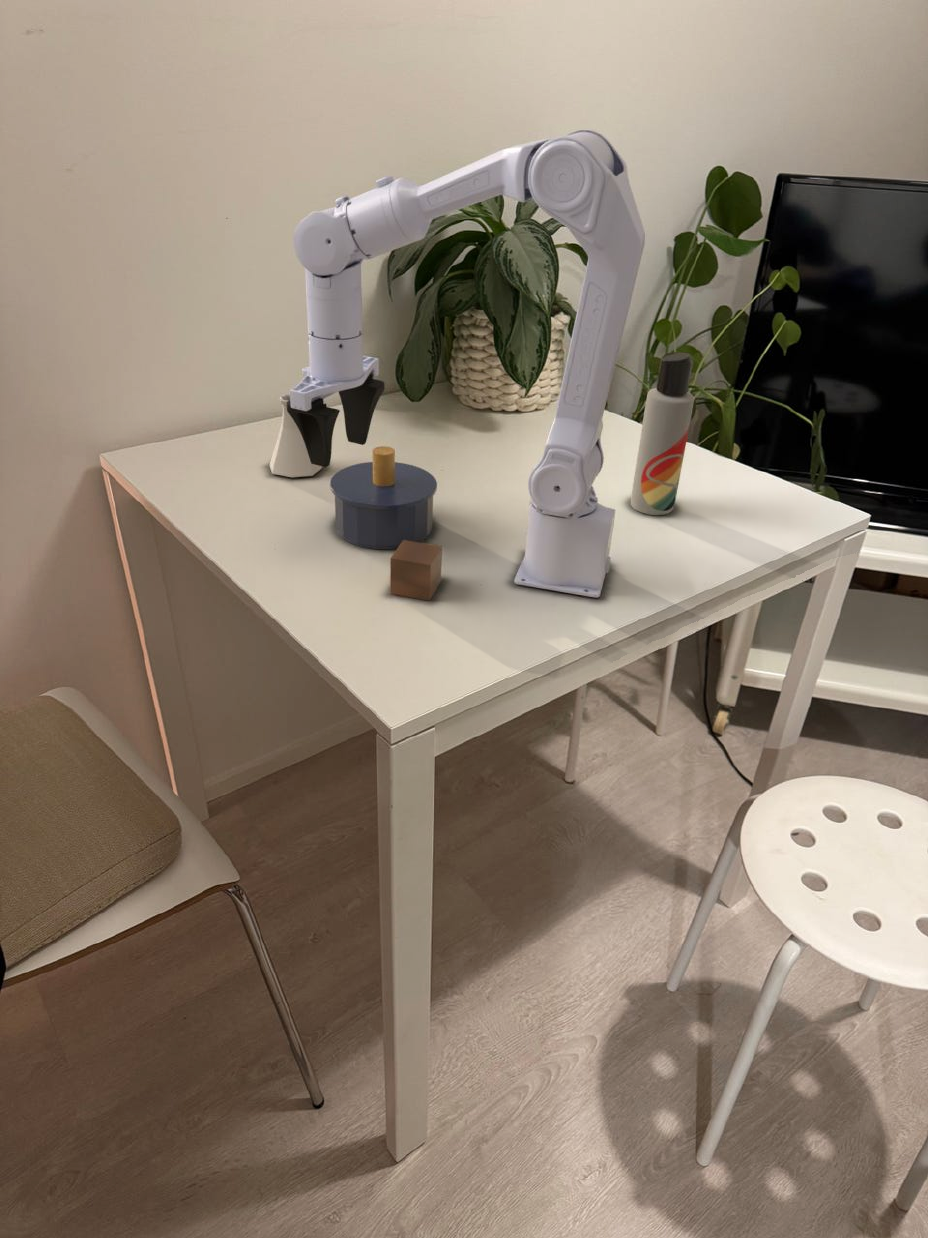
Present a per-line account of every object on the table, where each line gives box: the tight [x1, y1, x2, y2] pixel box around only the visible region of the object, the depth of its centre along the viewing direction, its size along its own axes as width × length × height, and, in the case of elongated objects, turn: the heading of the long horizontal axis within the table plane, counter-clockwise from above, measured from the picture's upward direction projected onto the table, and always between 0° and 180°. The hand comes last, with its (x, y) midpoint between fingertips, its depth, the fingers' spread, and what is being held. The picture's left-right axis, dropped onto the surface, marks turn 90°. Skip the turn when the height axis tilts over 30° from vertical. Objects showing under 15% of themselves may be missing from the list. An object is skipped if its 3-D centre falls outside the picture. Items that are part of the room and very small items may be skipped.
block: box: [389, 540, 443, 602], centre depth 97 cm, size 4×4×4 cm
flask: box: [269, 393, 323, 478], centre depth 121 cm, size 7×7×10 cm
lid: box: [329, 446, 438, 509], centre depth 106 cm, size 13×13×5 cm
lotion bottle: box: [630, 352, 695, 516], centre depth 113 cm, size 6×6×20 cm
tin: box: [334, 495, 434, 550], centre depth 109 cm, size 12×12×5 cm
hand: (339, 453), depth 103 cm, fingers open, 7 cm apart
